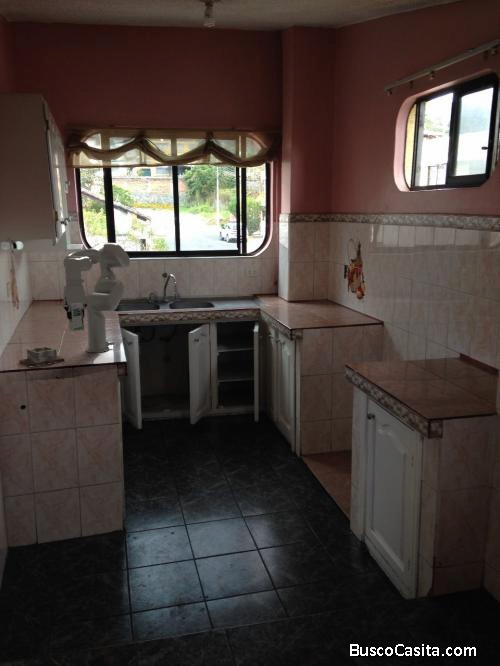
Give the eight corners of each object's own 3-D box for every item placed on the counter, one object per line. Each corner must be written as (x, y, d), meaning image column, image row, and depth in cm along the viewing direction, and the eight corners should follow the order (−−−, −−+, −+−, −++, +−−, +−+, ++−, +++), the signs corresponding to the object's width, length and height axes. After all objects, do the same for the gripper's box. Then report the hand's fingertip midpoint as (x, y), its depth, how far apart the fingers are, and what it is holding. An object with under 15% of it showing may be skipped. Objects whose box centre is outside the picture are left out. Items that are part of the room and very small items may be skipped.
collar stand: (53, 357, 310) (52, 344, 309) (64, 361, 302) (63, 348, 301) (19, 362, 298) (18, 350, 296) (30, 367, 290) (29, 354, 288)
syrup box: (73, 331, 298) (71, 303, 295) (69, 329, 303) (67, 301, 300) (84, 330, 302) (82, 302, 298) (80, 328, 306) (78, 300, 303)
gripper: (85, 280, 306) (87, 314, 310) (54, 283, 294) (56, 319, 298) (93, 282, 301) (95, 317, 305) (61, 285, 289) (63, 321, 293)
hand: (75, 317), depth 301 cm, fingers closed on syrup box, 6 cm apart
